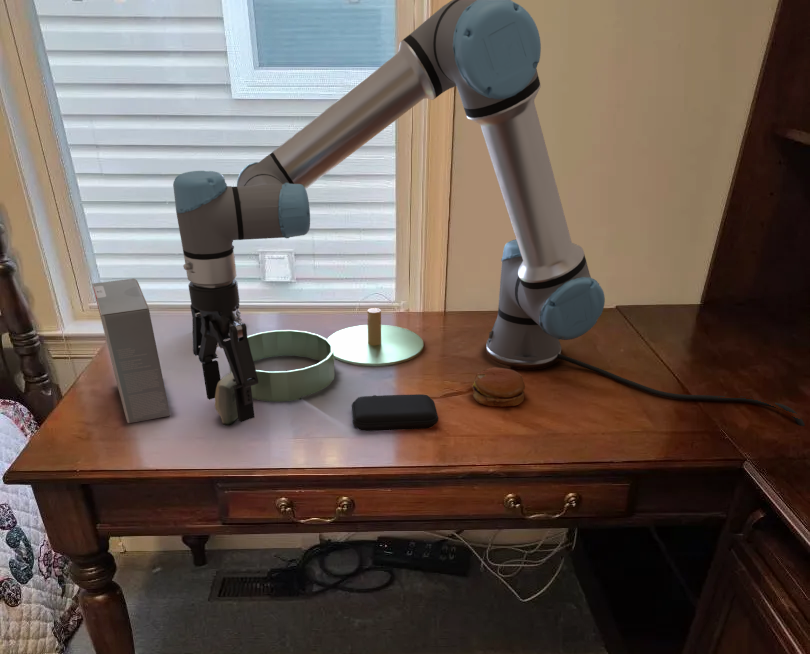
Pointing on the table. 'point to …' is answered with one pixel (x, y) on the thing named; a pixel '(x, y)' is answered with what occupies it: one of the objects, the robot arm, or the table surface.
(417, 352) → the pot lid
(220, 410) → the beige rounded block
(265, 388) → the pot
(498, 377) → the burger
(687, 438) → the table surface
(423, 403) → the carrying case
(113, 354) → the hard drive box
